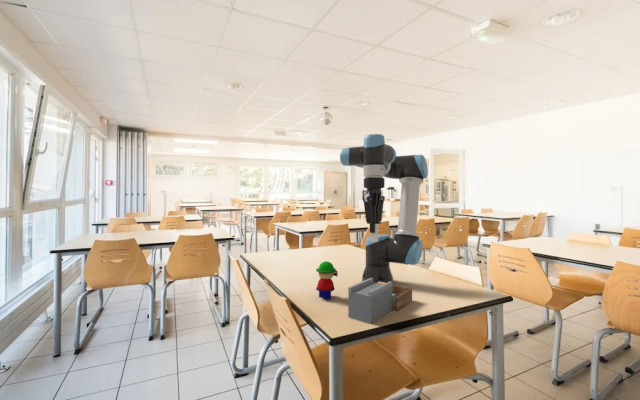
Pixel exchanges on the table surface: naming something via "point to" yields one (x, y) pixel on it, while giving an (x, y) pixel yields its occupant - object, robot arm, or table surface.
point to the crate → (401, 297)
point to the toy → (326, 279)
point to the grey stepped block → (369, 300)
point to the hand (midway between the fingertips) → (374, 241)
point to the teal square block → (393, 298)
